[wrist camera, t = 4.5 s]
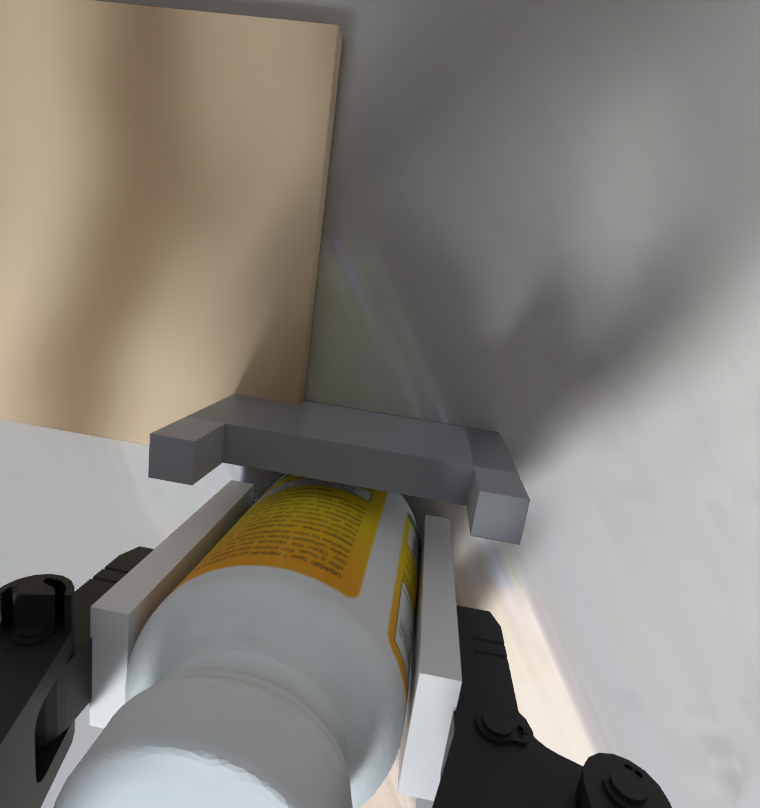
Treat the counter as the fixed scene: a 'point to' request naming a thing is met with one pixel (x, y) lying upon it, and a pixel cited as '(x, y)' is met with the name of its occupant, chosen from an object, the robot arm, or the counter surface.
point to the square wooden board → (157, 210)
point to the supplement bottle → (270, 663)
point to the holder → (351, 457)
